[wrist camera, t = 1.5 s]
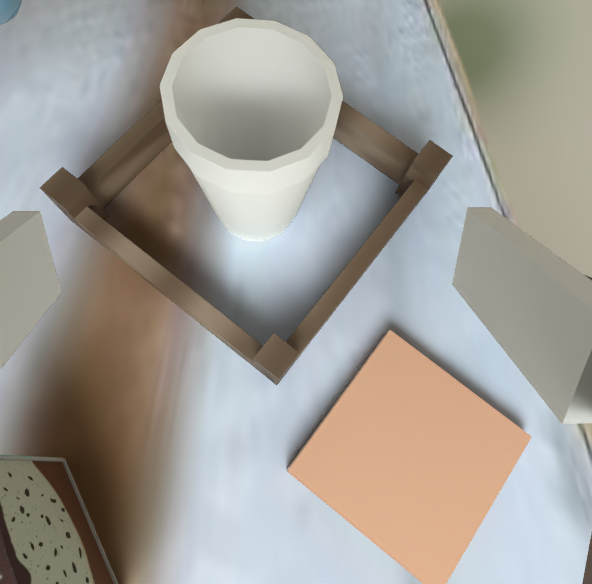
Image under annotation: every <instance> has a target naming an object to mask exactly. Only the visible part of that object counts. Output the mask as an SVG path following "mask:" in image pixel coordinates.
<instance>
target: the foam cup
mask: <svg viewBox="0 0 592 584" xmlns="http://www.w3.org/2000/svg"><path fill="white" fill-rule="evenodd" d="M160 91H161V97H162V103H163V110H164V116H165V122H166V125H167V128H168V131H169V134H170V137H171V140H172V143H173V146H174V148H175V149H176V151H177V152H178V153H179V154H180V156H181V157H182V158H183V160H184V161H185V162H186V163H187V165H188V166H189V168H190V169H191V171H192V173H193V175H194V176H195V178H196V180H197V182H198V183H199V185H200V187H201V189H202V190H203V192H204V194H205V196H206V197H207V199H208V201H209V203H210V204H211V206H212V208H213V210H214V211H215V213H216V215H217V216H218V218H219V220H220V221H221V222H222V223H223V225H224V226H225V227H226V229H227V230H228V231H229V232H230V233H232V234H234V235H236V236H238V237H240V238H242V239H244V240H247V241H266V240H268V239H271V238H273V237H276V236H278V235H281V234H282V233H283V231H284V230H285V229H286V228H287V227H288V226H289V225H290V224H291V223H292V221H293V219H294V218H295V216H296V214H297V211H298V209H299V207H300V205H301V203H302V201H303V199H304V197H305V195H306V193H307V191H308V189H309V187H310V185H311V182H312V180H313V178H314V176H315V174H316V172H317V170H318V168H319V166H320V164H321V163H322V162H323V161H324V160H325V159H326V157H327V156H328V155H329V151H330V147H331V144H332V140H333V136H334V132H335V128H336V124H337V120H338V116H339V112H340V108H341V104H342V99H343V94H342V90H341V87H340V83H339V80H338V76H337V72H336V69H335V65H334V63H333V62H332V61H331V60H330V58H329V57H328V56H327V55H326V54H325V53H324V52H323V51H322V50H321V49H320V47H319V46H318V45H317V44H316V43H315V42H314V41H313V40H312V39H311V38H310V37H309V36H307V35H305V34H303V33H300V32H298V31H296V30H294V29H292V28H290V27H287V26H285V25H283V24H281V23H279V22H277V21H269V20H255V19H240V18H236V19H233V20H229V21H226V22H223V23H220V24H216V25H213V26H210V27H207V28H203V29H200V30H199V31H198V32H197V33H195V34H194V35H193V36H192V37H191V38H190V39H188V40H187V41H186V42H185V43H184V44H183V45H182V46H180V47H179V48H178V49H177V50H176V51H175V52H173V53H172V56H171V58H170V61H169V63H168V66H167V68H166V71H165V73H164V76H163V79H162V81H161V84H160Z"/></svg>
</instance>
